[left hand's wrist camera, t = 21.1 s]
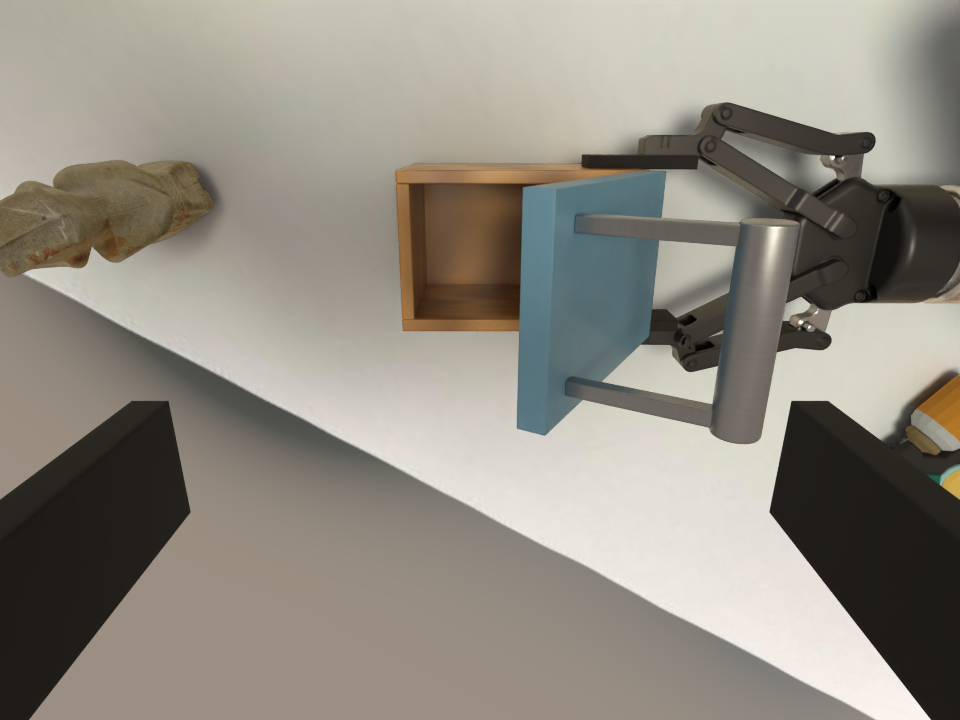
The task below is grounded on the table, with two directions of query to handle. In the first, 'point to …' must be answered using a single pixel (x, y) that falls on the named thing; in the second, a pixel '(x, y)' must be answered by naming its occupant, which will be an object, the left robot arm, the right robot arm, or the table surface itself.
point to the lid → (638, 302)
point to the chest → (467, 241)
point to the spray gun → (937, 437)
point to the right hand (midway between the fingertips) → (580, 244)
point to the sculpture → (97, 213)
